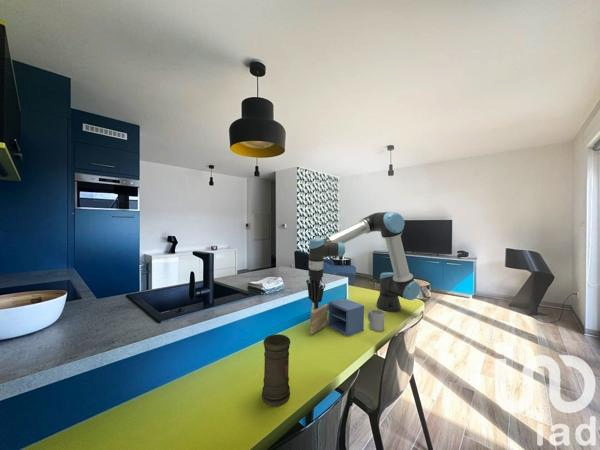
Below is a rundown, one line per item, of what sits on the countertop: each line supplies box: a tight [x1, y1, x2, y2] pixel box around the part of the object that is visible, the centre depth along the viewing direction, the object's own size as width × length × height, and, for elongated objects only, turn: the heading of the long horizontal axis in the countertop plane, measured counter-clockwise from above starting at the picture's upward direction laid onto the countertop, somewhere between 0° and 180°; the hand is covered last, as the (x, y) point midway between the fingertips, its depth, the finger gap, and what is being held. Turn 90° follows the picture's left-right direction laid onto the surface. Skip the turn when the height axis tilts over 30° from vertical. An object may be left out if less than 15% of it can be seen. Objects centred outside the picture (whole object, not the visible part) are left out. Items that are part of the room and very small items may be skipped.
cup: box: [367, 308, 385, 333], centre depth 129 cm, size 7×10×9 cm
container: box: [261, 333, 291, 407], centre depth 77 cm, size 9×9×18 cm
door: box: [309, 303, 329, 335], centre depth 123 cm, size 1×15×11 cm, turn 142°
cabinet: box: [327, 298, 365, 337], centre depth 127 cm, size 12×14×13 cm
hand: (314, 314), depth 124 cm, fingers closed
